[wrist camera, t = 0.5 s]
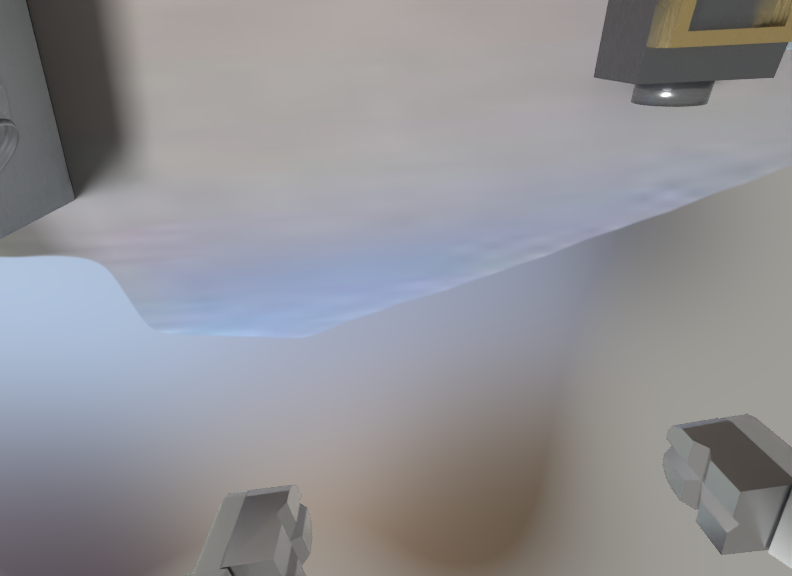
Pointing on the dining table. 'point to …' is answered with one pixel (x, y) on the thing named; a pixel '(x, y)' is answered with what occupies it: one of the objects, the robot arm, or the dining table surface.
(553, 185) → the dining table surface
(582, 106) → the dining table surface
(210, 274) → the dining table surface
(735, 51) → the dark grey toaster
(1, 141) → the soda pack
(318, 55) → the dining table surface
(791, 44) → the light blue block
